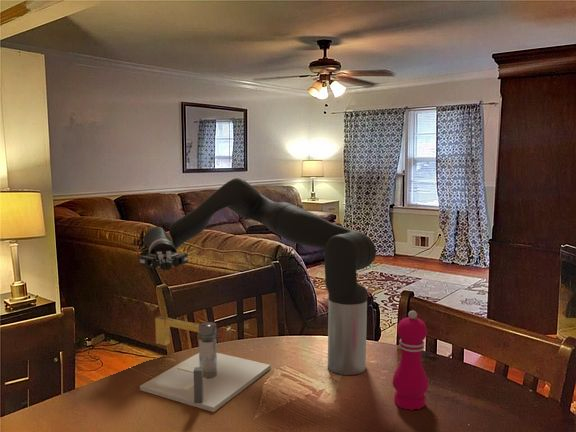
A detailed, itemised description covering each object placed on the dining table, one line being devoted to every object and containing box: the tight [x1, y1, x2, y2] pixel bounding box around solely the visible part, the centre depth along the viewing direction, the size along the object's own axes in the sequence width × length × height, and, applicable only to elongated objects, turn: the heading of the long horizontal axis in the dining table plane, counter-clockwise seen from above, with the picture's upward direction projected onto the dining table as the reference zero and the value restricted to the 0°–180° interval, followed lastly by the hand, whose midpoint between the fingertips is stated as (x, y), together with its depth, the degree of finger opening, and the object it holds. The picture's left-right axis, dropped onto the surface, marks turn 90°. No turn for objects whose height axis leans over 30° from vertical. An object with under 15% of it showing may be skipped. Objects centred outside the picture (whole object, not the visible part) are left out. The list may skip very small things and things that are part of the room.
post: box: [198, 338, 218, 379], centre depth 114 cm, size 4×4×8 cm
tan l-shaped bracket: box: [154, 315, 217, 346], centre depth 116 cm, size 17×4×7 cm, turn 62°
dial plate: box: [139, 352, 272, 413], centre depth 114 cm, size 23×20×8 cm
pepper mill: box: [392, 310, 429, 411], centre depth 102 cm, size 7×7×20 cm
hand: (166, 266), depth 123 cm, fingers closed
